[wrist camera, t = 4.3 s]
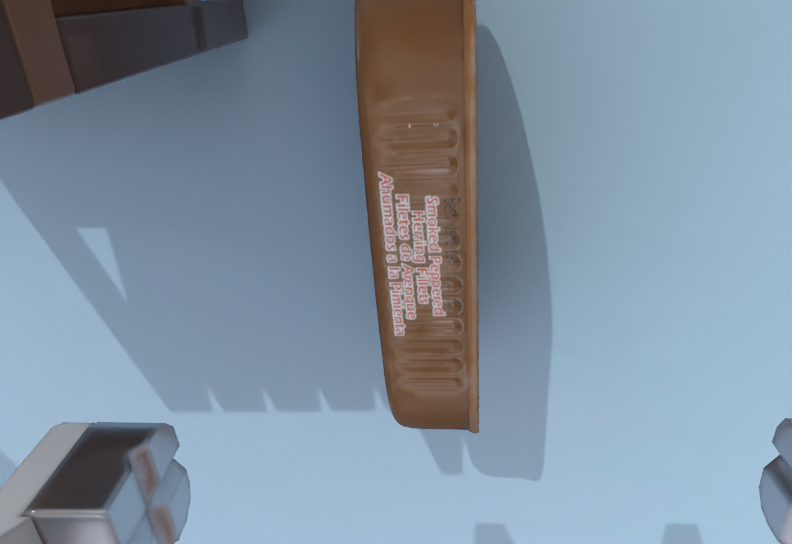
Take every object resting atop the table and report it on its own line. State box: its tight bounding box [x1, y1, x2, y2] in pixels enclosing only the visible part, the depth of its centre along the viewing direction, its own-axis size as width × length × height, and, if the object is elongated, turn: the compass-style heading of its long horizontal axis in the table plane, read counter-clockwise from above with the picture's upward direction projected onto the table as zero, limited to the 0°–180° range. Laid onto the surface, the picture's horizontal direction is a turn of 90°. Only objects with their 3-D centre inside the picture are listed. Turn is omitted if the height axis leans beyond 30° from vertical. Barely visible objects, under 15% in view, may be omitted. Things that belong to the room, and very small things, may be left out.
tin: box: [355, 0, 479, 433], centre depth 17 cm, size 15×3×8 cm, turn 4°
